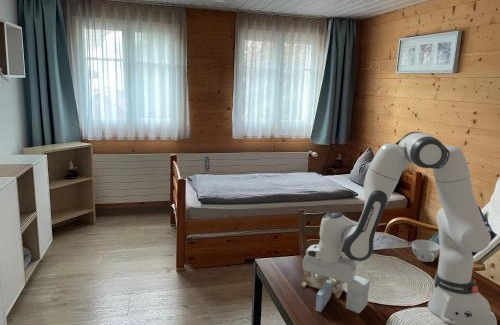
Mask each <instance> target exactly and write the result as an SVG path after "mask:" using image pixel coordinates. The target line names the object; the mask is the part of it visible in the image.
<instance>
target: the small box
mask: <svg viewBox="0 0 500 325" xmlns="http://www.w3.org/2000/svg"><path fill="white" fill-rule="evenodd" d="M370 282H371V281H370V279H367V278H365V277H362V276H359V275H355V279H354V281H353V282H352V283H347V285H346V286H347V287H346V288H347V289H346V300H345V309H347V310H349V311H351V312H354V313H356V314H360V313H361V312H362V311H363V310H364V309H365V308H366V306H368V301H369V294H370V293H369V291H370V284H371V283H370Z"/></svg>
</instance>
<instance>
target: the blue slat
mask: <svg viewBox="0 0 500 325" xmlns="http://www.w3.org/2000/svg"><path fill="white" fill-rule="evenodd" d="M331 291H332V281H330V280H327V281H326V282H325V284H324V285H323V286H322V288H321V289H319V290H318V291H317V292H316V299H315V300H316V301H315V311H316V312H319V313H322V311H323V309H324V308H325V306H326V305H327V303H329V300H330V299H331V297H332V293H331Z"/></svg>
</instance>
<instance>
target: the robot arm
mask: <svg viewBox="0 0 500 325" xmlns="http://www.w3.org/2000/svg"><path fill="white" fill-rule="evenodd" d="M411 164H413V165H416V166H417V167H419V168H423V169H432V171H433V177H434V182H435V188H436V193H437V198H438V199H437V200H438V201H439V203H440V205H441V208H439V209H438V211H437V213H436V215H435V219H436V220H435V221H436V224H437V228H438V242H439V244H438V245H439V246H440V251H439V255H438V256H439V258H438V263H437V264H438V265H437V270H436V271H435V276H434V281H433V282H434V283H433V284H434V286H433V287H434V288H433V291H432V294H431V297H430V299H429V300H428V303H427V307H428V309H429V310H430V311H431V313H433V314H435V316H437V317H439V318H440V319H441V320H442V321H443V323H445V324H448V325H498V321H497V317H496V315H495V313H494V312H492V311H491V310H492V309H491V306H490V303H489V301H488V299H487V298H485V297H484V296H483V295H482V294H481V293H480V292H479V287H478V284H477V282H476V280H475V279H472V275H473V269H474V262H475V260H474V255H473V253H478V252H479V253H480V252H482V251H484V250H485V249H487V248H488V246H490V243H491V241H492V237H491V236H492V235H491V233H490V231H489V229H488V228H487V226H486V224H485V222H484V220H483V217H482V214H481V211H480V209H479V206H478V203H477V201H476V197H475V194H474V190H473V186H472V185H473V184H472V180H471V174H470V169H469V166H468V162H467V159H466V156H465V155H464V152H463V150H462V149H461V148H460V147H458V146H455V145H444V144H443V142H441V140H439V139H438V138H436V137H434V136H432V135H431V134H428V133H423V132H421V131H411V132H408V133H406V134H405V135H404V136H403V137H402V138H401V139H399V140H398V141H396V142H395V143H384V144H383V145H381V146H380V148H379V149H378V150H377V151H376V153H375V155H374V157H373V158H372V160H371V163H370V164H369V166H368V169H367V171H366V173H365V177H364V181H363V191H364V207H363V209H362V213H361V215H360V217H359V219H358V221H355V220H352V219H350V218H348V217H346V216H345V215H344V214H343V213H342V212H339V211H332V212H328V213H326V214H324V215H323V216H322V218H321V222H320V226H319V228H320V229H319V238H320V239H319V242H318V243H317V244H312V245H310V246H309V247H308V248H307V249H306V250H305V256H303V259H302V269H303V271H304V270H305V271H309V272H311V276H312V278H313V283H316V284H317V282H318V278H316V275H315V274H319V275H322V276H325V277H329V278H331V279H334V280H339V281H340V283H341V284H337V286H336V290H339V291H340V290H341V286H342V285H343V286H344V284H345V283H346V284H348V283H352V282H353V281H354V279H355V276H356V270H357V263H356V262H363V261H367V260H368V259H369V258H370V257H371V256H372V255H373V252H374V238H375V235H376V232H377V229H378V227H379V224H380V221H381V220H382V216H383V214H384V211H385V209H386V206H387V205H388V203H389V200H390V199H391V196H392V194H393V192H394V190H395V189H396V186H397V185H398V183H399V181H400V178H401V176H402V175H403V174H402V173H403V171H404V170H405V169H406V168H407V167H408V166H410V165H411ZM342 253H343V254H344V255H345V257H344V256H342Z"/></svg>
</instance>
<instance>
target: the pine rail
mask: <svg viewBox="0 0 500 325" xmlns="http://www.w3.org/2000/svg"><path fill="white" fill-rule="evenodd" d="M315 275H316V278H318V282H317V284H316V283H313V278H312V276H311V272H309V271H305V270H304V269H303V281H302V282H301V284H300V287H301V288H303V289H304V288H306V287H307V286H309V287H311V288H315V289H319V290H320V289H321V288H322V286H323V285H324V284H325V282H326V281H327V280H330V281H332V291H331V294H334V298H336V299H339V298H340V297H341V295H342V294H343V293H344V291H345V287H343V286H344V284H343V285H342V286H341V290H340V291H339V290H336V286H337V284H341V283H340V281H339V280H335V279H332V278H329V277H325V276H322V275H319V274H315Z"/></svg>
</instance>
